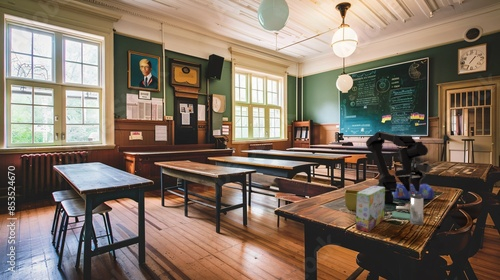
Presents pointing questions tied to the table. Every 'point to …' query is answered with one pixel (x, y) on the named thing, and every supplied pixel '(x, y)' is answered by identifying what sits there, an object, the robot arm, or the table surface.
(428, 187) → the pencil case
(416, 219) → the bottle
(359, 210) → the snack box
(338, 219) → the table surface
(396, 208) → the chalk
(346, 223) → the table surface
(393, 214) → the mat
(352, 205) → the flower pot
